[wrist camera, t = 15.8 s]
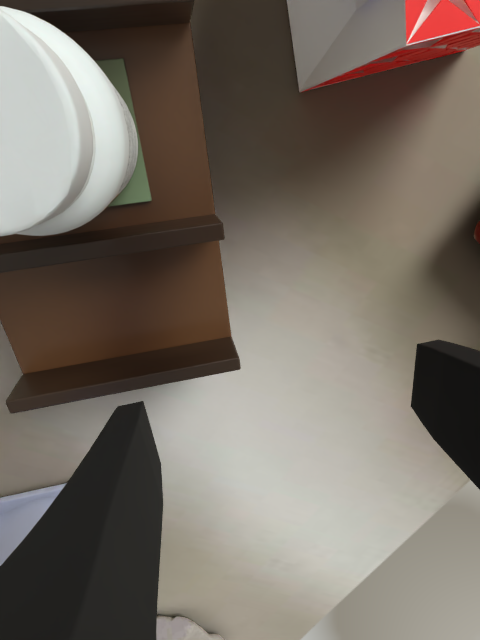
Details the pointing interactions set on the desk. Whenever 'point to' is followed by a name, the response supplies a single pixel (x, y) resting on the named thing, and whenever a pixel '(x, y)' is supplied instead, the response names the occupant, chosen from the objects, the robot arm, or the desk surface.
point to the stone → (181, 630)
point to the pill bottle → (57, 131)
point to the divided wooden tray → (126, 231)
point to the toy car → (477, 232)
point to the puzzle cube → (375, 35)
